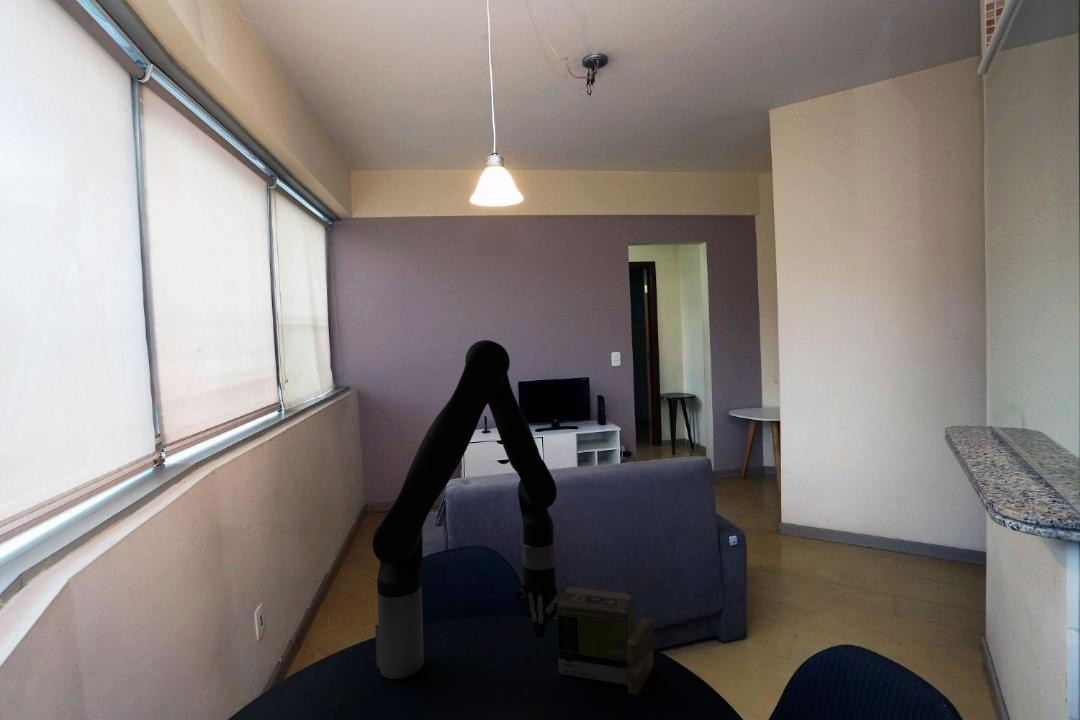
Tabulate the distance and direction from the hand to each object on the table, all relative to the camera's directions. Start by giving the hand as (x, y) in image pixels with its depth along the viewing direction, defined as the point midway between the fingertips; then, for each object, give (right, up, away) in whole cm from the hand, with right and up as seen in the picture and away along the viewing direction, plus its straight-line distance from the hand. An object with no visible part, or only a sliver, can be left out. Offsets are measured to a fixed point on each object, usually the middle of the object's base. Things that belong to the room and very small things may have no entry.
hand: (540, 636), depth 114 cm
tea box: (+12, -3, -7) cm, 14 cm away
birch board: (+21, -2, -12) cm, 24 cm away
